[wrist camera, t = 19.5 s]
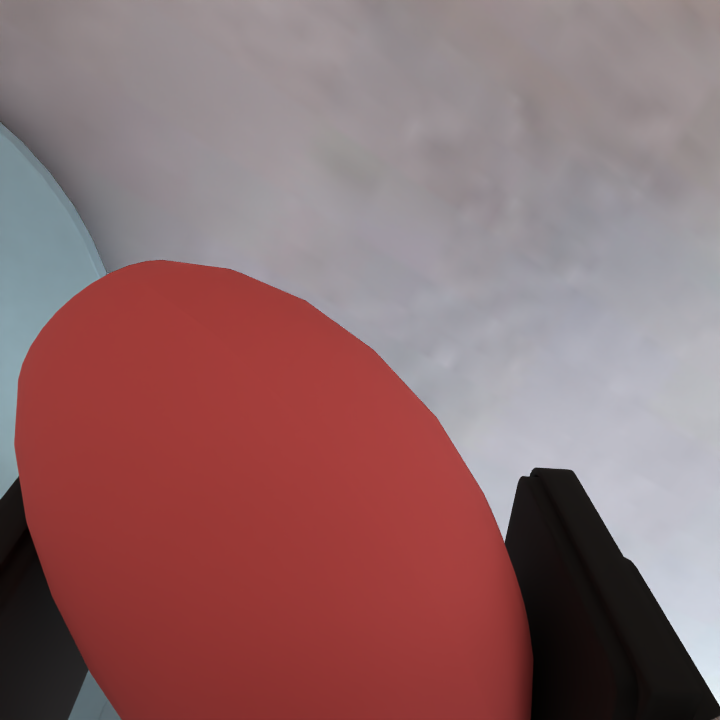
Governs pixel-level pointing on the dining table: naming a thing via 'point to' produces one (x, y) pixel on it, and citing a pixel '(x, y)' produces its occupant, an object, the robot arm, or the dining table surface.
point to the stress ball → (258, 513)
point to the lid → (33, 271)
